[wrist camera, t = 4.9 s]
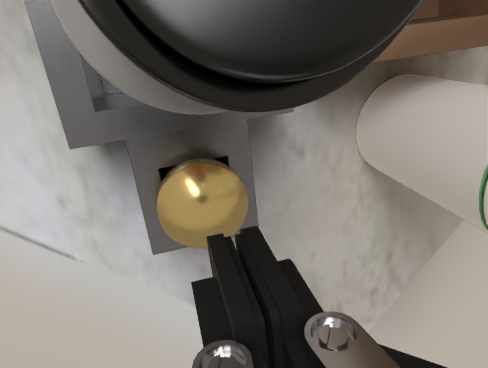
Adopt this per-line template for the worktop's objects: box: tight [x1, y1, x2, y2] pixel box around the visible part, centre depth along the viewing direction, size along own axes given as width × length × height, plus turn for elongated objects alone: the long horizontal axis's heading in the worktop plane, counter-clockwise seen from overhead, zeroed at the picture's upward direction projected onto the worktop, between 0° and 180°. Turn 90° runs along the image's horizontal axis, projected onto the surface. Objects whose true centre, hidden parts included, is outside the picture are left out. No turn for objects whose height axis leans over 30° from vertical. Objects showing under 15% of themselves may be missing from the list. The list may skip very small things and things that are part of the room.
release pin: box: [157, 158, 248, 248], centre depth 21 cm, size 4×4×6 cm
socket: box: [24, 0, 294, 255], centre depth 20 cm, size 18×11×5 cm, turn 6°
